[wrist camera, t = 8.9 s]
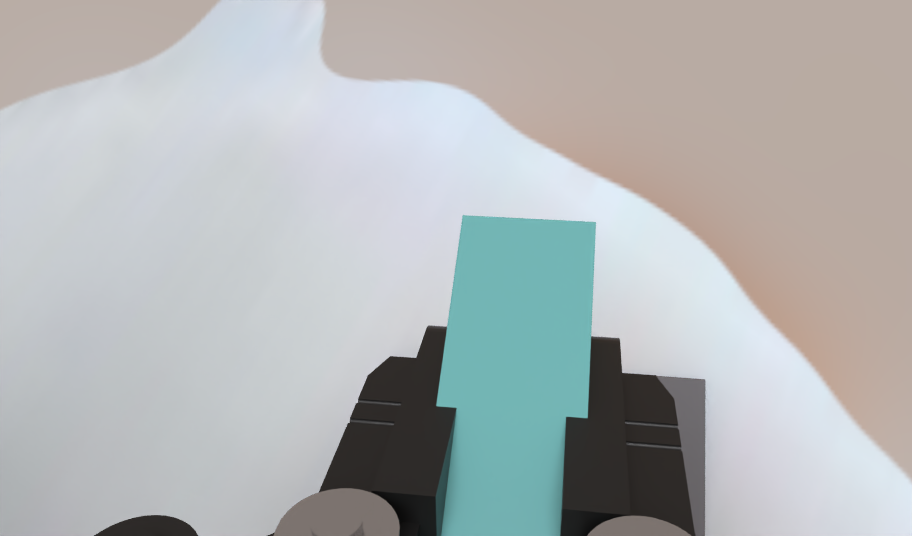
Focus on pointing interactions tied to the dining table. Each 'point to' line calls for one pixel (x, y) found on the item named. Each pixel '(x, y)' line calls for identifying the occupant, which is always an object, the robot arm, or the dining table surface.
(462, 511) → the teal rectangular pillar
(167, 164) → the dining table surface
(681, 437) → the mat
